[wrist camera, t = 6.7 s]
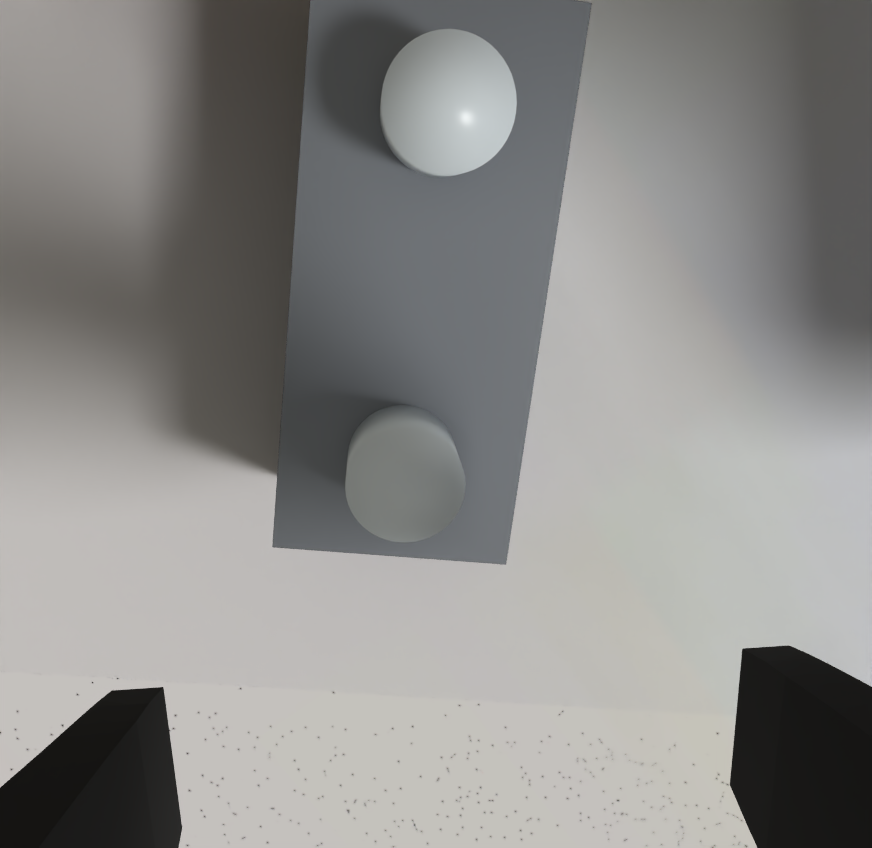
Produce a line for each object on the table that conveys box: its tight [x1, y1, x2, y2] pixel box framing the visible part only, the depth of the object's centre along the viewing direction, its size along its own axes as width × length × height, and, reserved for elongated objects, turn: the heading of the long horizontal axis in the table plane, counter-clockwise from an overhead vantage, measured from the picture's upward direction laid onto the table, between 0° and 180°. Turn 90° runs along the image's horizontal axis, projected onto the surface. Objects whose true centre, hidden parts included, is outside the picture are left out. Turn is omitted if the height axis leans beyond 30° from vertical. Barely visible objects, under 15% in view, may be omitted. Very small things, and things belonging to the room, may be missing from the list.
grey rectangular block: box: [272, 0, 592, 564], centre depth 15 cm, size 4×10×6 cm, turn 173°
